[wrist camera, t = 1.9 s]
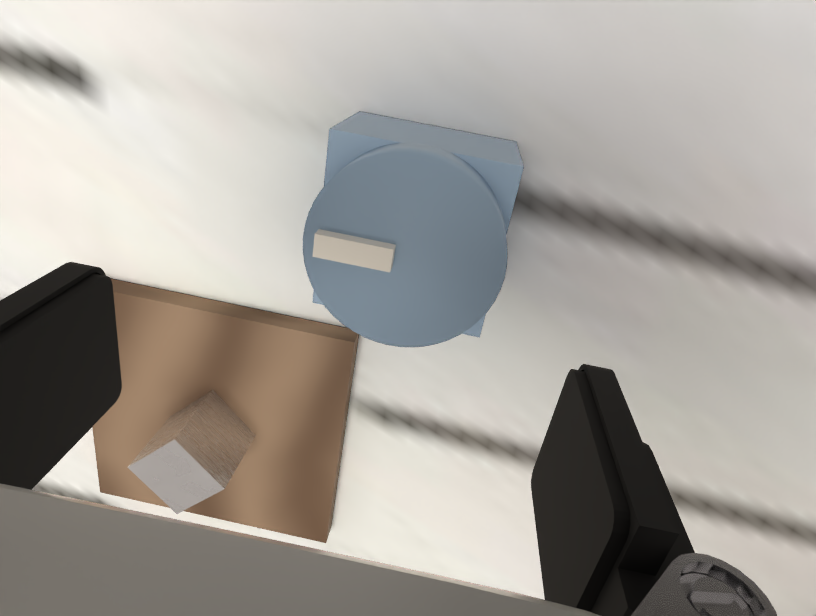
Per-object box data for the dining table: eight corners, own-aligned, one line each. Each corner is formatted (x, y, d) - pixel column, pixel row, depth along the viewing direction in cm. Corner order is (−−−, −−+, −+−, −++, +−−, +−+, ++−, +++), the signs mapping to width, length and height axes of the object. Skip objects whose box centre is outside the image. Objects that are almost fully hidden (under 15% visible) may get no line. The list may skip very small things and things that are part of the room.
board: (359, 330, 28) (354, 342, 26) (331, 527, 34) (325, 543, 33) (91, 274, 28) (75, 283, 27) (112, 478, 34) (100, 492, 33)
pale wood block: (213, 389, 29) (174, 439, 25) (255, 435, 30) (224, 489, 26) (169, 416, 30) (127, 467, 26) (212, 459, 31) (176, 514, 27)
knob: (519, 139, 23) (533, 180, 16) (482, 287, 26) (481, 372, 19) (357, 108, 23) (307, 135, 16) (340, 258, 26) (291, 332, 19)
